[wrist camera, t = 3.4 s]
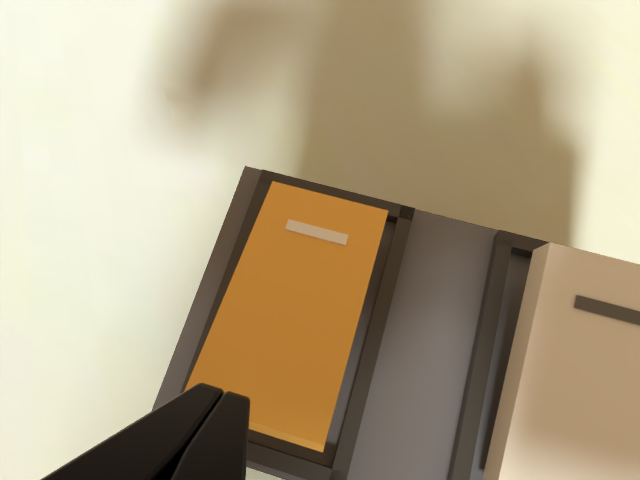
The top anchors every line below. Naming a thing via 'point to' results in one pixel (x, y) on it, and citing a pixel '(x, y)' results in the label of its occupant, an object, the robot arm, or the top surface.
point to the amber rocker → (293, 311)
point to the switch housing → (391, 344)
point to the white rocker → (572, 373)
